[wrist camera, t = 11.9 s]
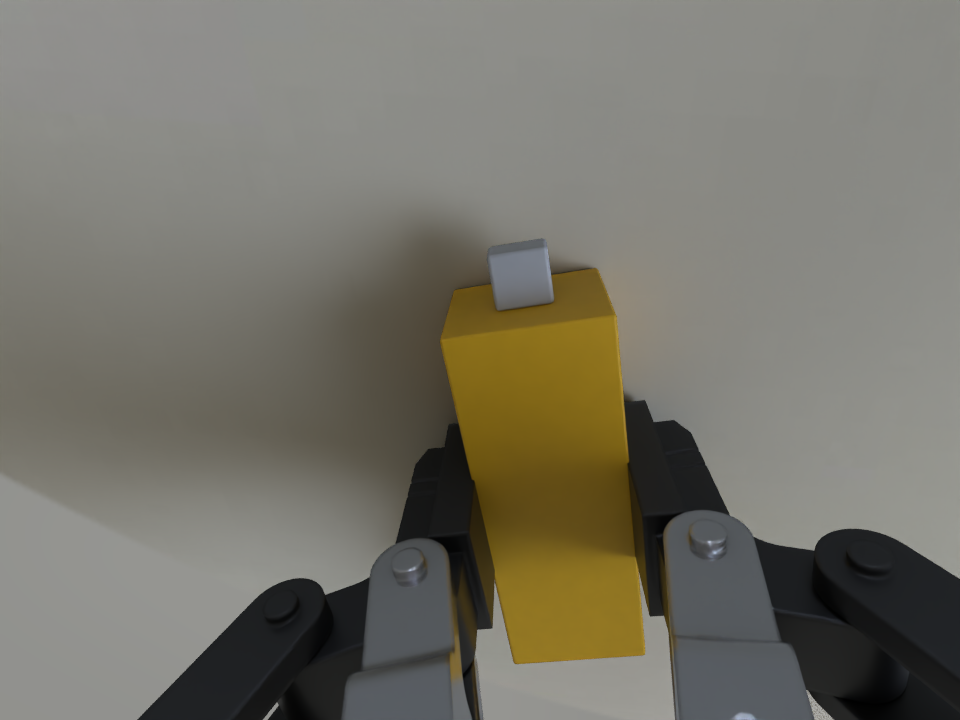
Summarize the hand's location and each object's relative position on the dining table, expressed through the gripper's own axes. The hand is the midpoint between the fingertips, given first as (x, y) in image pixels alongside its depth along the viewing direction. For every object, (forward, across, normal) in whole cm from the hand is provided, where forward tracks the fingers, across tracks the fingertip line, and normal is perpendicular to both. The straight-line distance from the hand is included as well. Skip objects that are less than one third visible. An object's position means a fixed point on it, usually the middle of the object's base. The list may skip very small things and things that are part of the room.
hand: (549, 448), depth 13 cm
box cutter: (0, 0, 0) cm, 0 cm away
